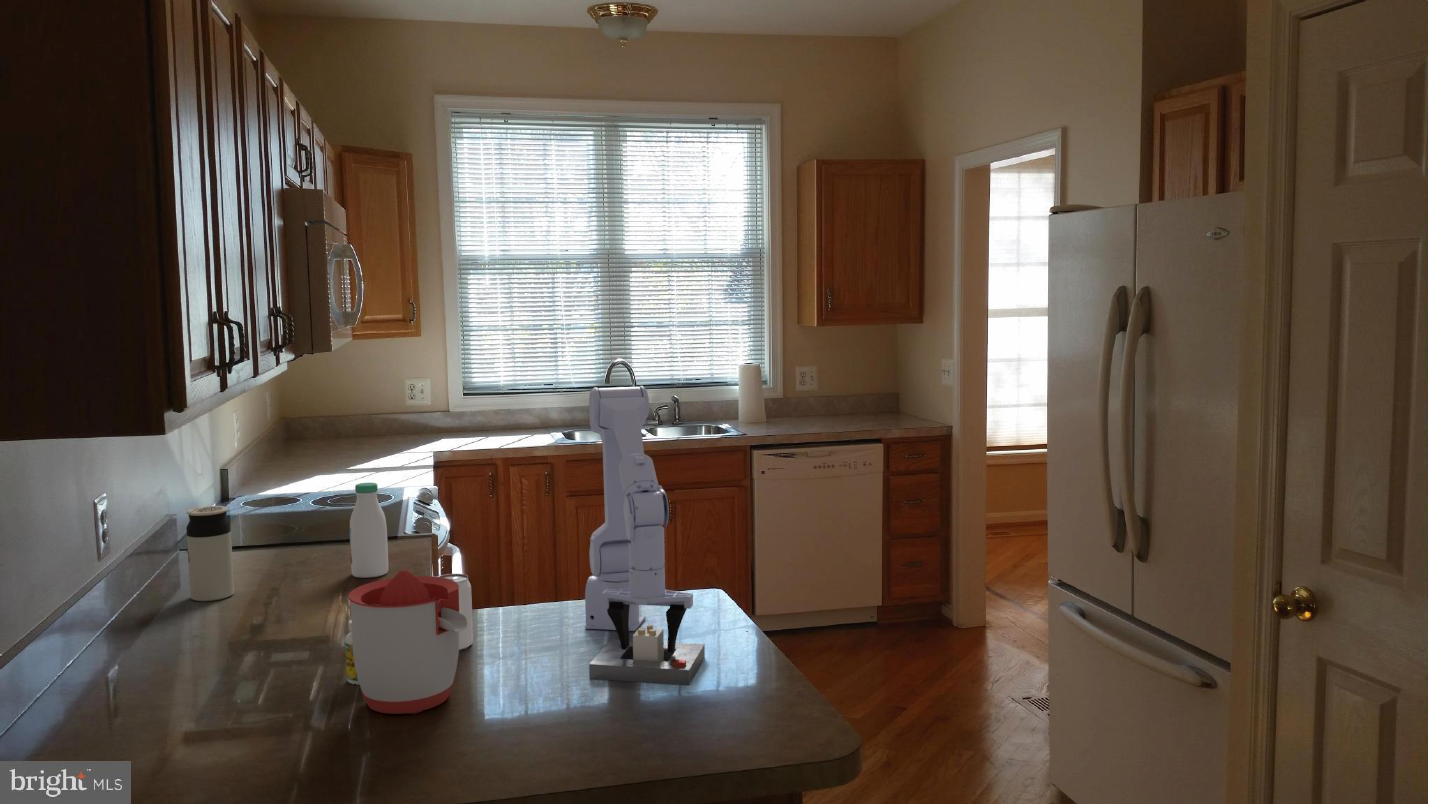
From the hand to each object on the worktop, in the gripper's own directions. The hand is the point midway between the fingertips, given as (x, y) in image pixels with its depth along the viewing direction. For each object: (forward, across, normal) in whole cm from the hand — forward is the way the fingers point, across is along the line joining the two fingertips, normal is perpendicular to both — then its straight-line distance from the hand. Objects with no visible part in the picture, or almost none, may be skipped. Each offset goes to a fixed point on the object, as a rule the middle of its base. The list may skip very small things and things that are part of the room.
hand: (648, 649), depth 164 cm
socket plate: (+3, 0, 0) cm, 3 cm away
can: (+3, -36, +5) cm, 37 cm away
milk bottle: (+3, -75, +46) cm, 88 cm away
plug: (+3, 0, 0) cm, 3 cm away
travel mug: (+3, -98, +25) cm, 101 cm away
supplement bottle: (+3, -43, -12) cm, 45 cm away
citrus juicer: (+3, -31, -19) cm, 37 cm away
